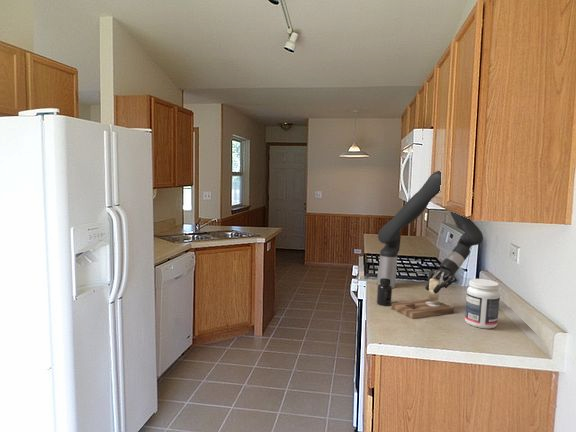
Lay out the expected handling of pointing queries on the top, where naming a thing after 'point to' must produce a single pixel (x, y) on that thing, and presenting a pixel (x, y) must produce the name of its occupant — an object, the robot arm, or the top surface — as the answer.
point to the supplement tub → (482, 303)
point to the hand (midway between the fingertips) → (430, 290)
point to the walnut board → (422, 308)
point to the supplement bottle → (384, 292)
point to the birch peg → (432, 285)
